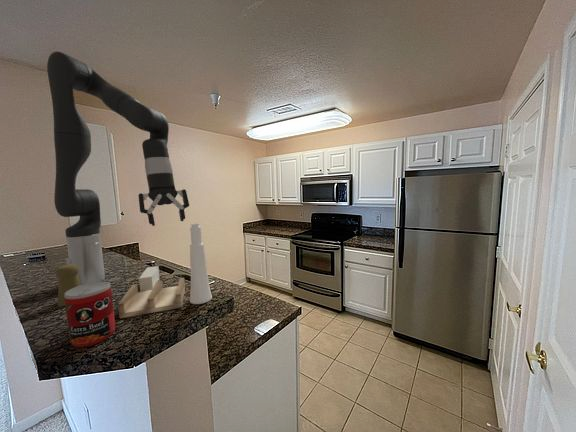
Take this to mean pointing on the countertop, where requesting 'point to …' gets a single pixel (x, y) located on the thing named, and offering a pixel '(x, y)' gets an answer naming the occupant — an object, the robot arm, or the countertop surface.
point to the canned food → (90, 313)
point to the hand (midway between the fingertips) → (168, 223)
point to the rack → (151, 299)
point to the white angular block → (149, 278)
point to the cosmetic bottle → (198, 268)
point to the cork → (66, 280)
